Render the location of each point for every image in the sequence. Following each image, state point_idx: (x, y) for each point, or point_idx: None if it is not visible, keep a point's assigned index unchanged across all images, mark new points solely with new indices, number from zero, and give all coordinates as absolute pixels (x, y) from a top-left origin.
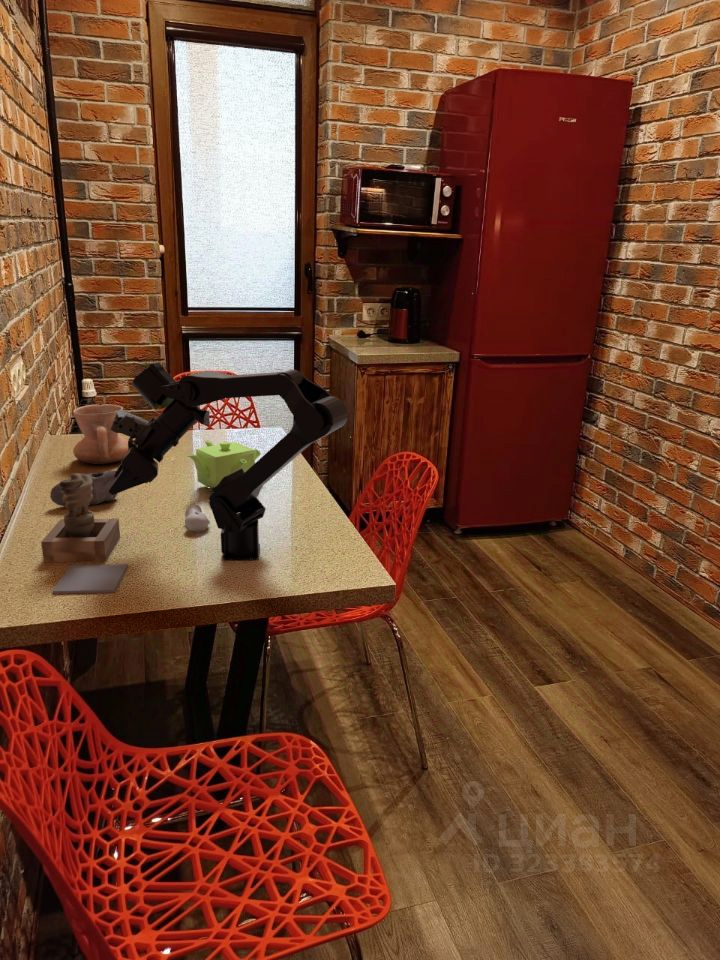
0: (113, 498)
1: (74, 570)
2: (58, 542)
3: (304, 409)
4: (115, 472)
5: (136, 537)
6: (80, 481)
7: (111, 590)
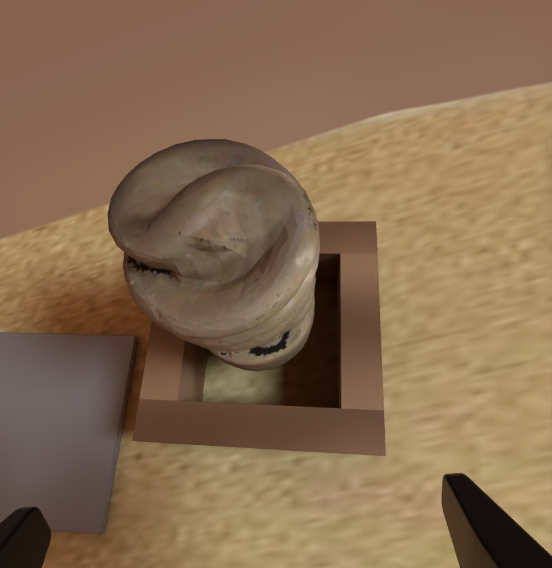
0: None
1: (93, 357)
2: None
3: None
4: (479, 491)
5: (375, 522)
6: (147, 261)
7: None
